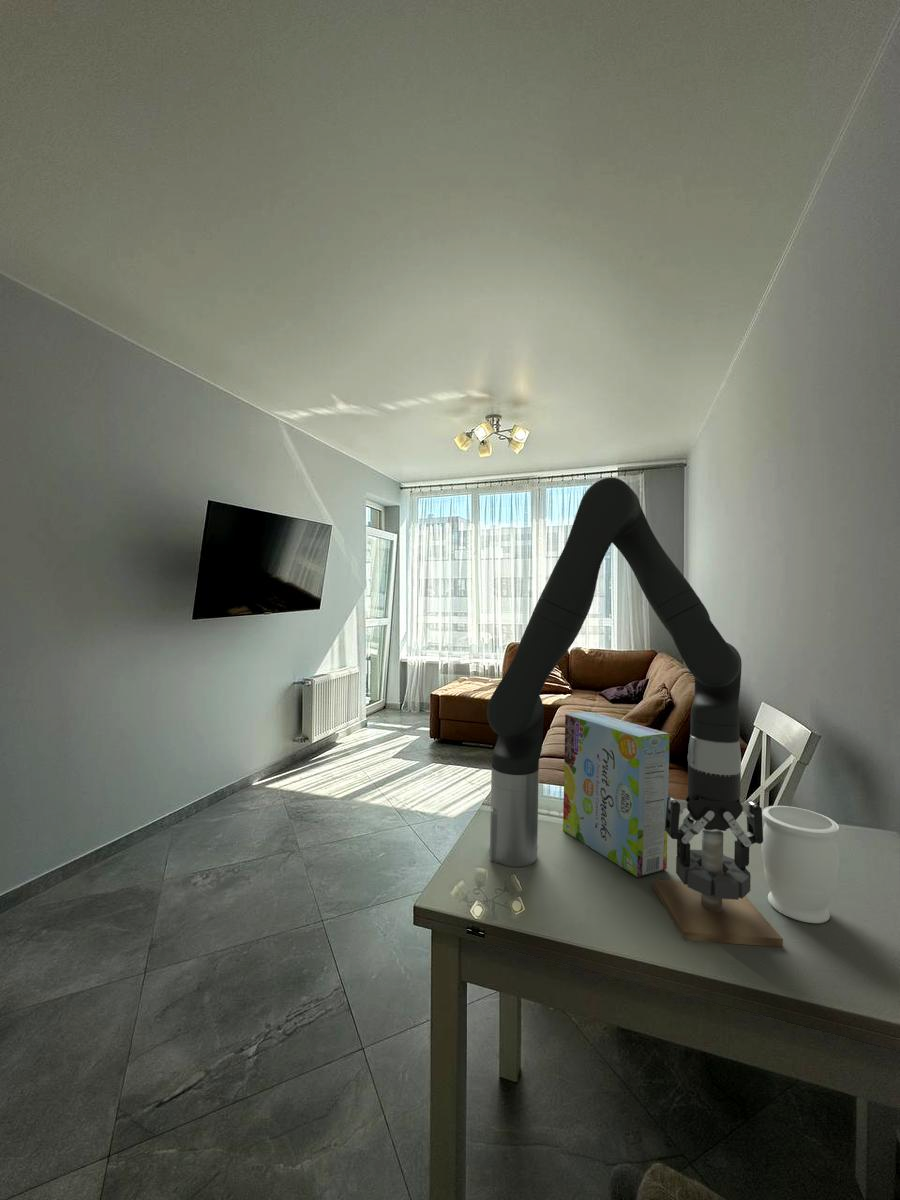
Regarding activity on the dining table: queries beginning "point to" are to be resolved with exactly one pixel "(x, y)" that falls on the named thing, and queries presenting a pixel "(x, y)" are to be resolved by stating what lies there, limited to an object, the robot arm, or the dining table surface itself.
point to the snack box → (617, 790)
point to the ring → (714, 878)
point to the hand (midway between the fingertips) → (712, 865)
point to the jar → (800, 861)
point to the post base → (715, 923)
